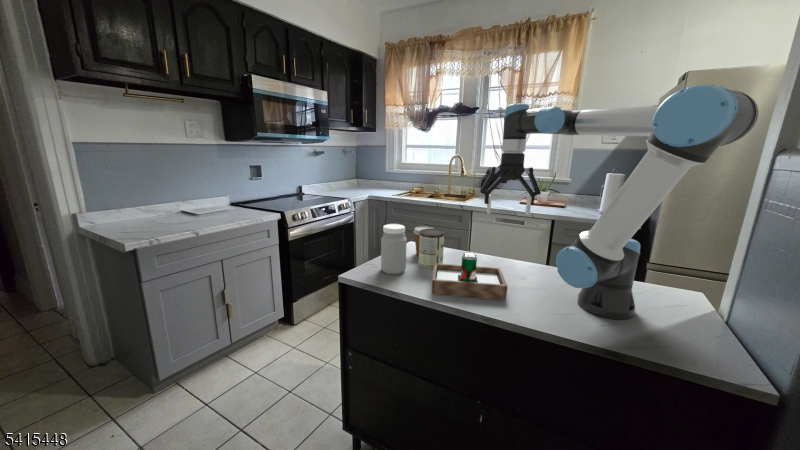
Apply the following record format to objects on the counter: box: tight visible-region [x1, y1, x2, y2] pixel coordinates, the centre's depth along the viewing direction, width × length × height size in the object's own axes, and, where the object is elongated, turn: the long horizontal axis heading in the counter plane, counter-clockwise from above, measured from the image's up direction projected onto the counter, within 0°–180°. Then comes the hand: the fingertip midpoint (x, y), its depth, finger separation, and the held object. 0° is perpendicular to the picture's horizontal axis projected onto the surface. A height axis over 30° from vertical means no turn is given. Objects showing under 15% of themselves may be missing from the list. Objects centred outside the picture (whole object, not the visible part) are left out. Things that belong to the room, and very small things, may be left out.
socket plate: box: [436, 270, 500, 284], centre depth 114 cm, size 21×13×3 cm, turn 81°
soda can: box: [460, 252, 478, 282], centre depth 112 cm, size 5×5×12 cm
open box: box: [431, 263, 508, 301], centre depth 113 cm, size 24×16×5 cm, turn 81°
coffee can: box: [418, 228, 446, 269], centre depth 133 cm, size 10×10×14 cm
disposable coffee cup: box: [413, 225, 434, 257], centre depth 146 cm, size 10×10×12 cm
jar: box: [380, 223, 408, 275], centre depth 125 cm, size 10×10×18 cm
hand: (507, 213), depth 115 cm, fingers open, 13 cm apart
